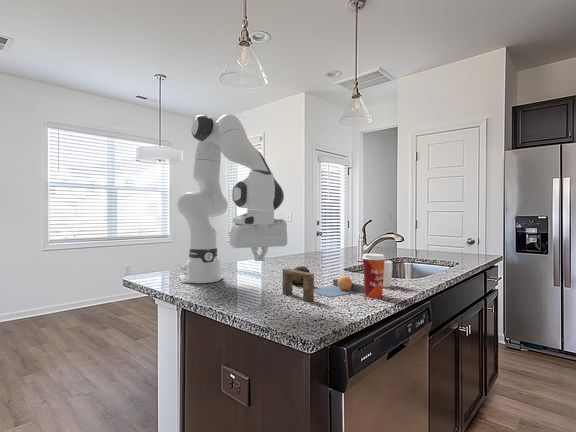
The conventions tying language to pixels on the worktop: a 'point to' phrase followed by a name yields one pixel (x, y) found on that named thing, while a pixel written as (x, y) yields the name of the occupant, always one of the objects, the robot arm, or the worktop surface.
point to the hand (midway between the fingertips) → (259, 260)
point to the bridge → (307, 283)
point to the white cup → (387, 273)
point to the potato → (296, 278)
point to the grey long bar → (354, 286)
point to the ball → (344, 283)
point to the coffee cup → (373, 274)
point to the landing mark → (331, 291)
